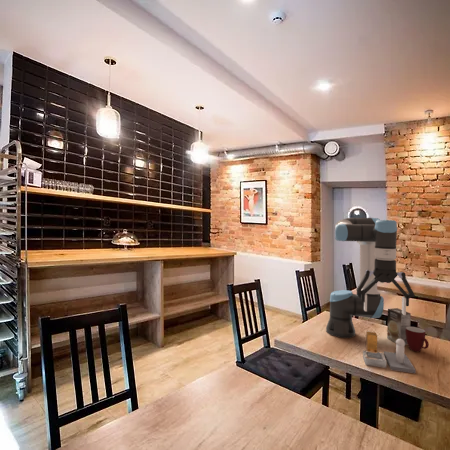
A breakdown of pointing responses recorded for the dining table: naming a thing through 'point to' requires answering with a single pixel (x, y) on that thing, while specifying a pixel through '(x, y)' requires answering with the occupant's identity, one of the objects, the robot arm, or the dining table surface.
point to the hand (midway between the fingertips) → (384, 312)
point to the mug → (416, 338)
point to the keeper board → (389, 360)
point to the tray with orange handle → (373, 352)
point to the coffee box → (397, 324)
